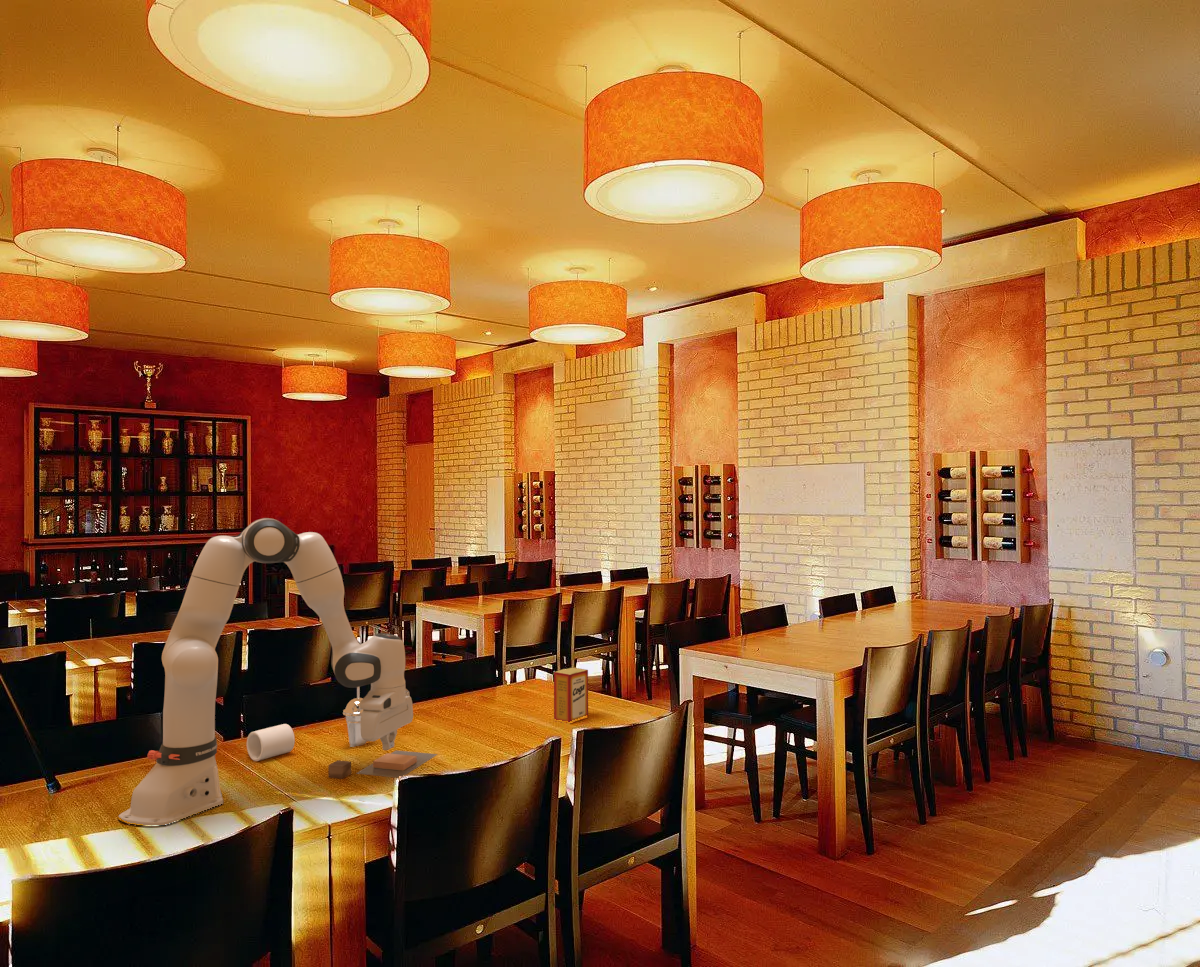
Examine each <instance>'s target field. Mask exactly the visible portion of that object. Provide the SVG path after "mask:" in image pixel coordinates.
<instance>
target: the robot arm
mask: <svg viewBox="0 0 1200 967" xmlns="http://www.w3.org/2000/svg"><path fill="white" fill-rule="evenodd" d="M254 562H256V563H261V564H275V563H276V564H277V563H284V564H285V565H287V567H288V569H289V570H290V572H291V574H292V578H293V580H294V582H295V585H296V588H297V590H298V592H299V593H300V595H301V598H302V600H304V602H305V604H306V605H307V606H308V607H309V608H310V609H312V610H313V611H314V613H315V614H316V615H317V616H318V617H319V618H320V621H321V623H322V625H323V627H324V630H325V633H326V634H327V638H328V640H329V642H330V646H331V656H330V657H331V658H330V662H331V664H330V665H331V668H332V670H333V671H332V672H333V673H334V677H335V679H336V680H337V683H338V684H340V685H341V686H343V687H345V688H350V689H354V688H355V689H356V688H357V687H364V686H367V685H370V690H369V691H368V692H367V694H366V695H365V696H364V697H363V699H362V700H361V702H360V709H363V711H362V713H361V737H362V739H363V740H364V741H367V742H376V741H378V740H379V739H380V741H381V743H382V751H389V750H391V749H392V748H395V740H396V736H397V734H398V729H400V728H402V727H404V726H406V725H408V724H411V723H412V722H413V719H414V708H413V706H414V705H413V700H412V697H411V696H410V691H409V690H408V689H407V688H406V679H405V671H406V670H405V669H406V650H405V645H404V641H403V640H402V638H401V637H400V636H397V635H395V634H393V633H383V632H381V633H379V632H378V633H375V634H373V635H372V637H371V638H369V639H368V640H366V641H365V642H363V643H361V642H360V641H359V640H358V639H357V637H356V636H355V633H354V632H353V630H352V626H351V624H350V622H349V618H348V616H347V613H346V610H345V606H344V605H345V602H344V601H345V600H344V598H345V586H344V582H343V580H344V579H343V576H342V573H341V570H340V567H339V564H338V563H337V560H336V558H335V556H334V553H333V552H332V550H331V548H330V546H329V545H328V543H327V541H326V540H325V538H324V537H323V535H321V534H320V533H318V532H315V531H314V532H313V531H308V532H302V533H299V534H298V533H296V532H294V531H293V530H292V529H290V528H289V527H288V526H287V525H285V524H284V523H282V522H281V521H279V520H278V519H274V518H271V517H270V518H269V517H263V518H259V519H256V520H254V521H253V522H251V523H250V524H249V525H248V526H246V527H245V528H244V529H243V530H242V531H241V532H240V533H239V534H238V535H236V536H230V535H217V536H212V537H211V538H209V539H208V540H207V541H206V542H205V545H204V546H203V548H202V550H201V552H200V554H199V556H198V558H197V560H196V563H195V565H194V567H193V570H192V572H191V576H190V578H189V581H188V584H187V587H186V589H185V593H184V595H183V599H182V603H181V605H180V608H179V610H178V612H177V614H176V617H175V619H174V622H173V623H172V626H171V629H170V631H169V634H168V637H167V639H166V642H165V644H164V647H163V650H162V651H161V652H162V653H161V662H162V667H163V668H164V675H165V676H164V697H163V709H162V743H161V745H160V748H159V750H152V749H151V750H149V751H148V753H147V759H148V760H154V761H156V763H155V764H154V765H153V767H152V768H151V770H149V772H148V773H146V775H145V776H144V777H143V779H142V780H141V781H140V782H139V783H138V785H136V787H135V788H134V789H133V792H132V794H131V795H132V796H131V799H130V800H131V801H130V808H128V809H127V810H125V811H123V812H121V813H120V814H119V815H118V817H119V818H121V819H122V820H124V821H127V822H130V823H136V824H143V825H165V824H169V823H172V822H174V821H177V820H180V819H183V818H185V819H187V818H186V817H188V816H190V815H192V814H196V813H198V812H201V811H203V812H205V811H204V810H206V811H208V810H207V809H209V810H211V809H213V808H212V807H214V808H216V807H215V806H217V807H219V806H222V805H223V804H224V798H223V794H222V791H221V787H220V785H221V784H220V777H219V769H218V765H217V761H216V754H217V751H218V744H217V737H216V736H215V732H216V730H215V729H216V720H215V719H216V716H215V715H216V698H217V690H218V689H217V688H218V675H219V674H218V672H219V657H218V654H217V651H216V647H217V644H218V642H219V640H220V637H221V634H222V633H223V631H224V628H225V626H226V624H227V622H228V621H229V619H230V616H231V614H232V610H233V608H234V604H235V600H236V597H237V595H238V593H239V592H238V591H239V589H240V585H241V581H242V579H243V576H244V573H245V571H246V569H247V568H248V567H249V565H250V564H253V563H254ZM221 804H222V805H221ZM218 805H219V806H218ZM210 808H211V809H210ZM201 813H202V812H201ZM198 814H199V813H198ZM196 815H197V814H196ZM190 817H191V816H190ZM188 818H189V817H188ZM183 820H184V819H183ZM180 821H181V820H180ZM177 822H178V821H177ZM172 824H173V823H172ZM169 825H170V824H169Z"/></svg>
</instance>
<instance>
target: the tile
mask: <svg viewBox="0 0 1200 967" xmlns="http://www.w3.org/2000/svg"><path fill="white" fill-rule="evenodd" d="M416 762H417V756H411V755H400V754H391V753H388V752H386V753H385V754H383V755H382V756H380V757H378V758H376V759H374V760H373V761H372V764H373V767H374V768H382V769H392V770H402V771H403V770H405V769H407V768H408V767H410V766H411V765H413V764H415V763H416Z"/></svg>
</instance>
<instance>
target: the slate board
mask: <svg viewBox="0 0 1200 967" xmlns="http://www.w3.org/2000/svg"><path fill="white" fill-rule="evenodd" d="M390 754H400V755H411V756H417V762H416V763H415V764H413V765H411V766H410V767H408V768H407V769H405V770H403V771H402V770H392V769H382V768H374V767H373V763H371V764H370V765H367V766H366V767H364V768H363V769H360V770H359V771H358V772H356V773H355V774H357V775H367V776H375V777H377V776H378V777H386V778H387V777H388V778H396V779H398V778H397V777H399V776H403V775H405V776H406V775H408V774H410V773H412V772H413V771H414V770H416V769H418V768H419V767H420V766H422V765H423V764H425V763H426V762H428V761H430V760H431V759H433V758H434V757H436V756H438V754H437V753H428V752H419V751H418V752H417V751H416V752H415V751H407V750H394V751H393V752H391V753H390ZM403 777H404V776H403Z"/></svg>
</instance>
